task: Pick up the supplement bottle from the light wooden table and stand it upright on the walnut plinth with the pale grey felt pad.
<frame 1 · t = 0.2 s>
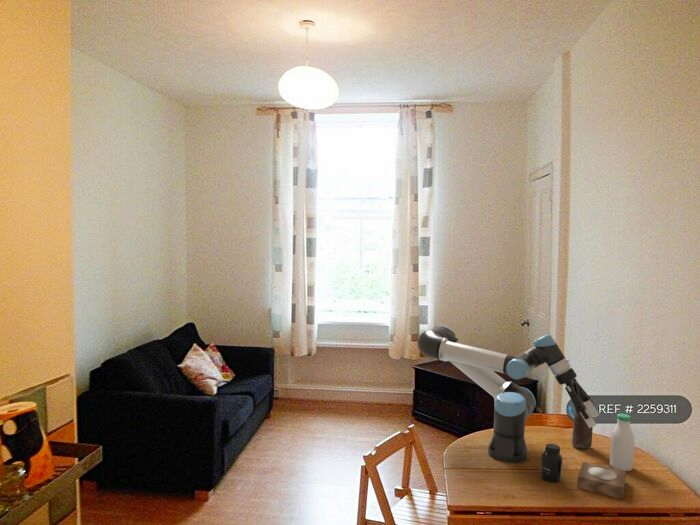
hand: (594, 421, 201), 16 cm above the table, tool tilted 35°, fingers open, 13 cm apart
supplement bottle: (550, 479, 187), on the table
walnut plinth: (601, 485, 183), on the table
milk bottle: (620, 467, 198), on the table
brown cylinder: (581, 447, 216), on the table, touching gripper
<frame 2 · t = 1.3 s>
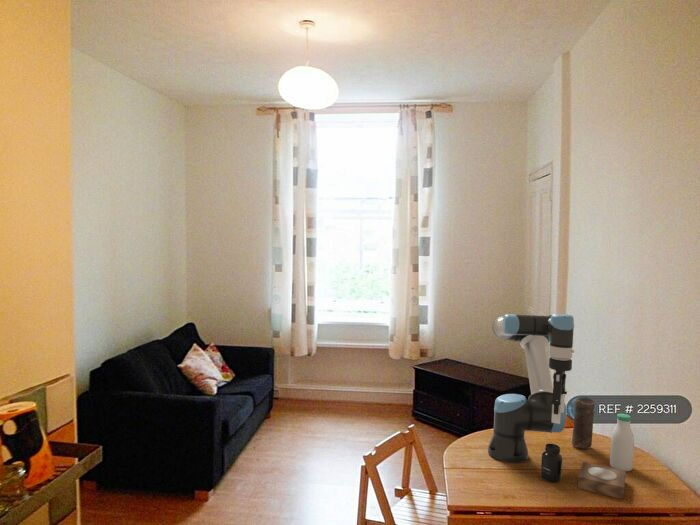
hand: (557, 417, 186), 22 cm above the table, tool pointing down, fingers open, 13 cm apart
brown cylinder: (581, 447, 216), on the table
everything else where it was.
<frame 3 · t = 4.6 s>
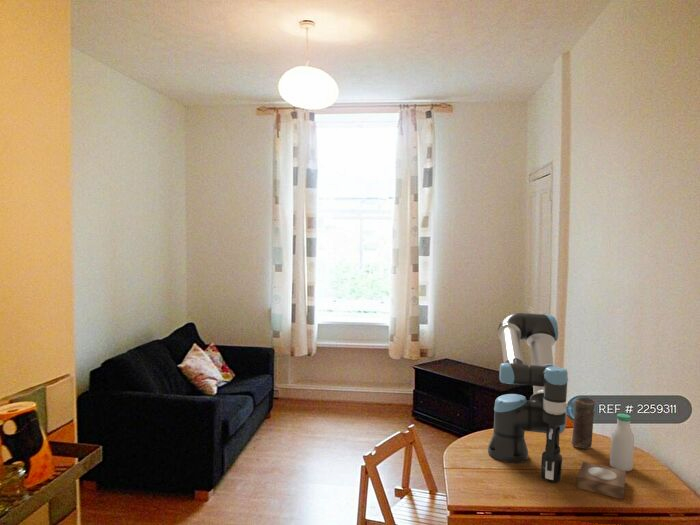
hand: (551, 474, 187), 2 cm above the table, tool pointing down, fingers closed on supplement bottle, 7 cm apart
supplement bottle: (550, 479, 187), on the table, touching gripper
everything else where it was.
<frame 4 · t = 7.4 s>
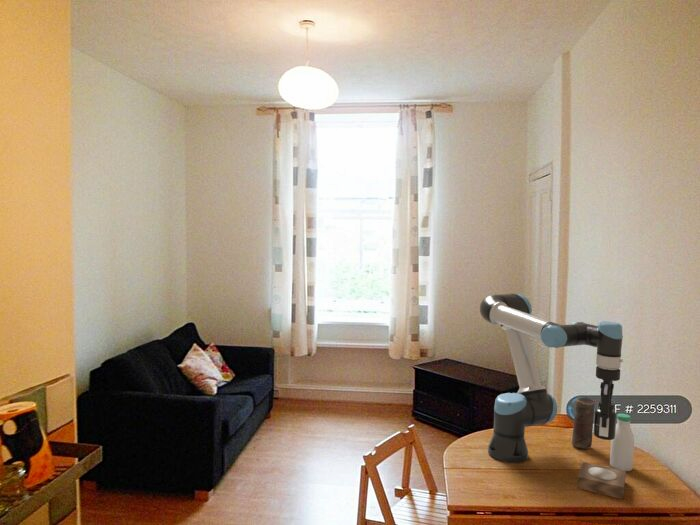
hand: (604, 432, 182), 19 cm above the table, tool pointing down, fingers closed on supplement bottle, 7 cm apart
supplement bottle: (604, 437, 182), point 17 cm above the table, touching gripper
everything else where it was.
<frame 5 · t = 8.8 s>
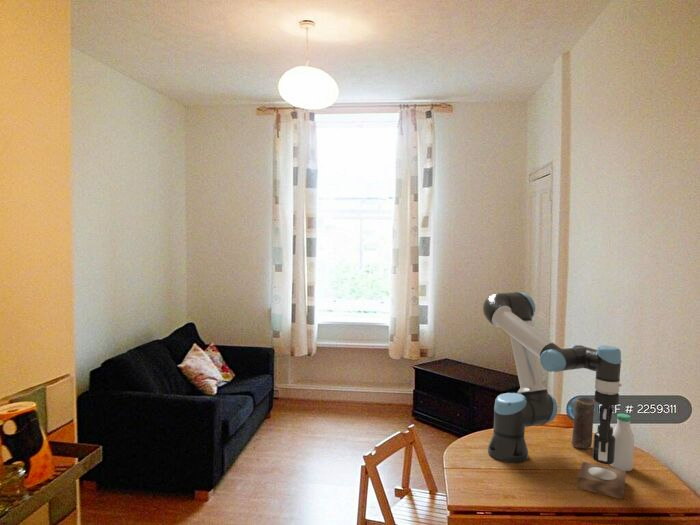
hand: (603, 456, 182), 10 cm above the table, tool pointing down, fingers closed on supplement bottle, 7 cm apart
supplement bottle: (603, 461, 182), point 9 cm above the table, touching gripper
everything else where it was.
when the fingers open (7 cm above the table, at t = 10.2 s): supplement bottle drops 1 cm, resting on walnut plinth.
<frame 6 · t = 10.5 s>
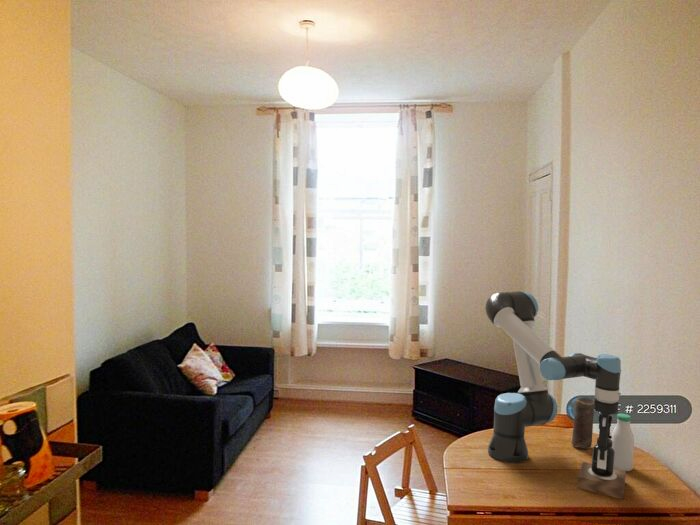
hand: (602, 462, 182), 8 cm above the table, tool pointing down, fingers open, 10 cm apart
supplement bottle: (602, 473, 183), point 4 cm above the table, touching walnut plinth
everything else where it was.
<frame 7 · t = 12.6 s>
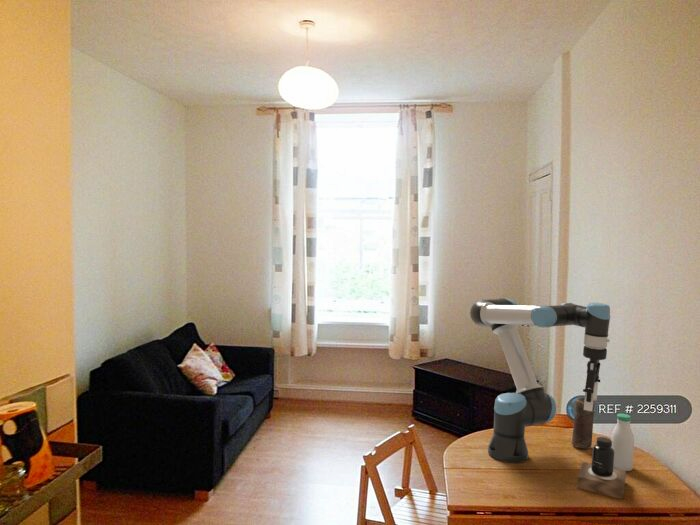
hand: (590, 404, 188), 26 cm above the table, tool pointing down, fingers open, 13 cm apart
nothing on the table moved.
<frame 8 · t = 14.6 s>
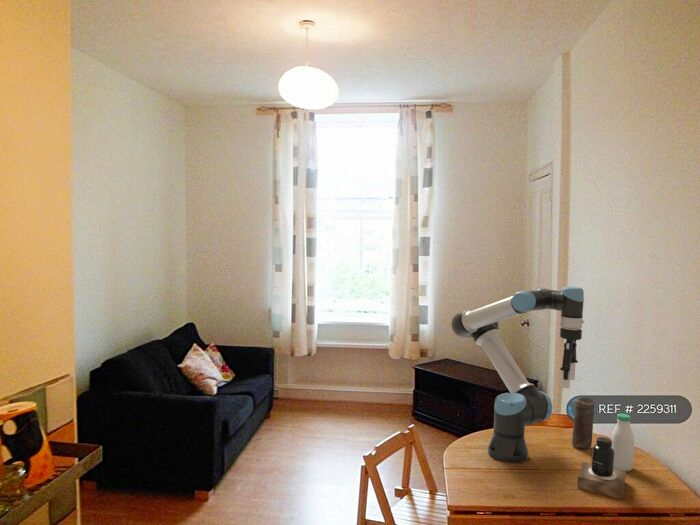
hand: (568, 383, 198), 31 cm above the table, tool pointing down, fingers open, 13 cm apart
nothing on the table moved.
at the end: supplement bottle inside the target area on the walnut plinth (0.1 cm from its centre), point 4.1 cm above the walnut plinth's base; supplement bottle tilted 0°; the gripper is holding nothing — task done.
